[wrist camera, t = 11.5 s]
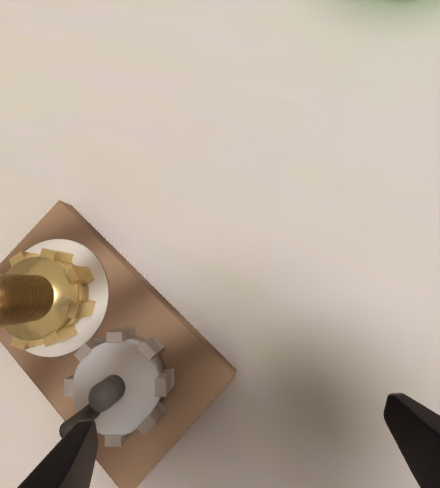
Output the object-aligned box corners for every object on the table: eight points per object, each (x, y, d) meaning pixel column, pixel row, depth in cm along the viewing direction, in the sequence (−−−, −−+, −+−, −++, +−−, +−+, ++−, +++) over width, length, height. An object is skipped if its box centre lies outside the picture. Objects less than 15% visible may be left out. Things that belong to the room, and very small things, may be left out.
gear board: (236, 369, 20) (229, 405, 14) (136, 481, 20) (87, 566, 14) (71, 205, 24) (10, 179, 18) (-16, 298, 23) (-106, 304, 17)
